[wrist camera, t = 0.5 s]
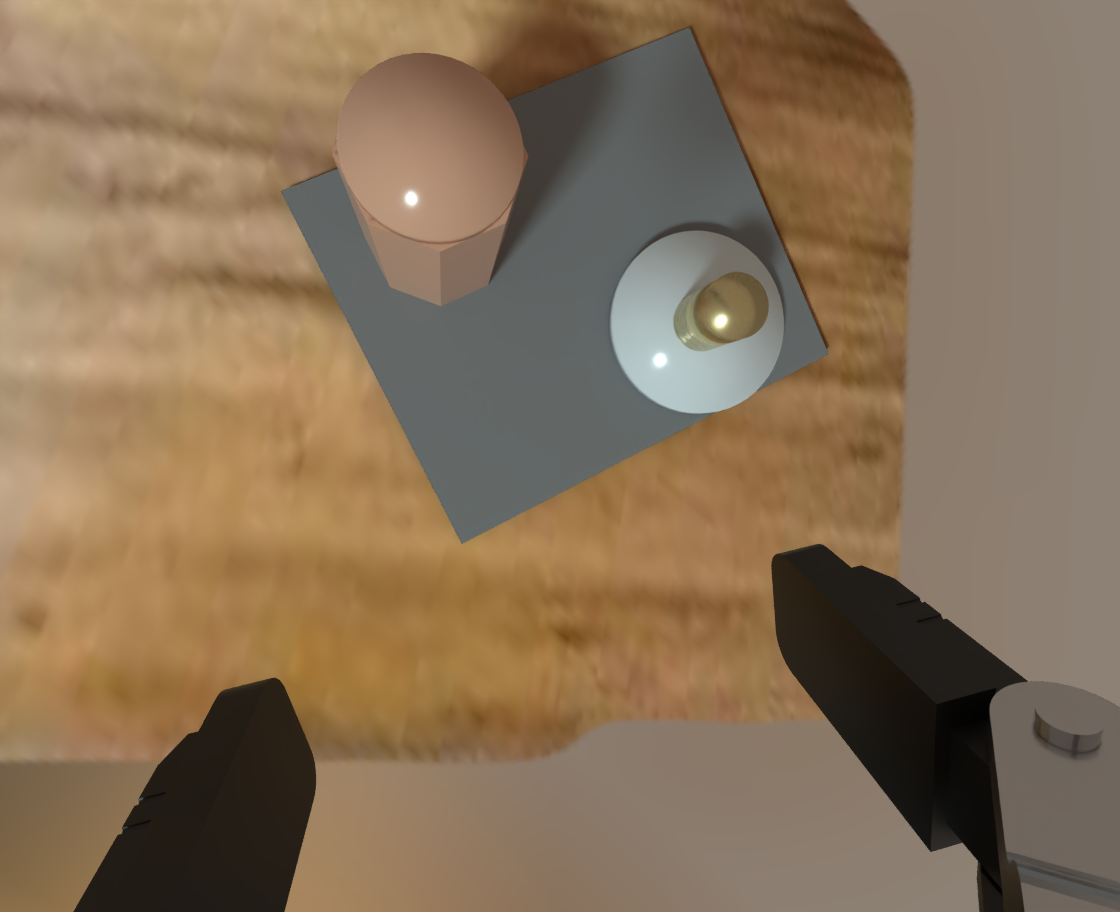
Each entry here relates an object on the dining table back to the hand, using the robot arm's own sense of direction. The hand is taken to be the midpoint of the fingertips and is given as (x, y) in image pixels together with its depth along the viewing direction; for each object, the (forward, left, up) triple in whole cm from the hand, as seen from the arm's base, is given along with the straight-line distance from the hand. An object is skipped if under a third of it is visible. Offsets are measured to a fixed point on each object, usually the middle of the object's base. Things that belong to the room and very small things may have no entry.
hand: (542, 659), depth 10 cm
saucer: (-3, +16, -23) cm, 28 cm away
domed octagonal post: (-13, +5, -23) cm, 27 cm away
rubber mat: (-8, +11, -24) cm, 28 cm away
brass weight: (-3, +16, -22) cm, 28 cm away
